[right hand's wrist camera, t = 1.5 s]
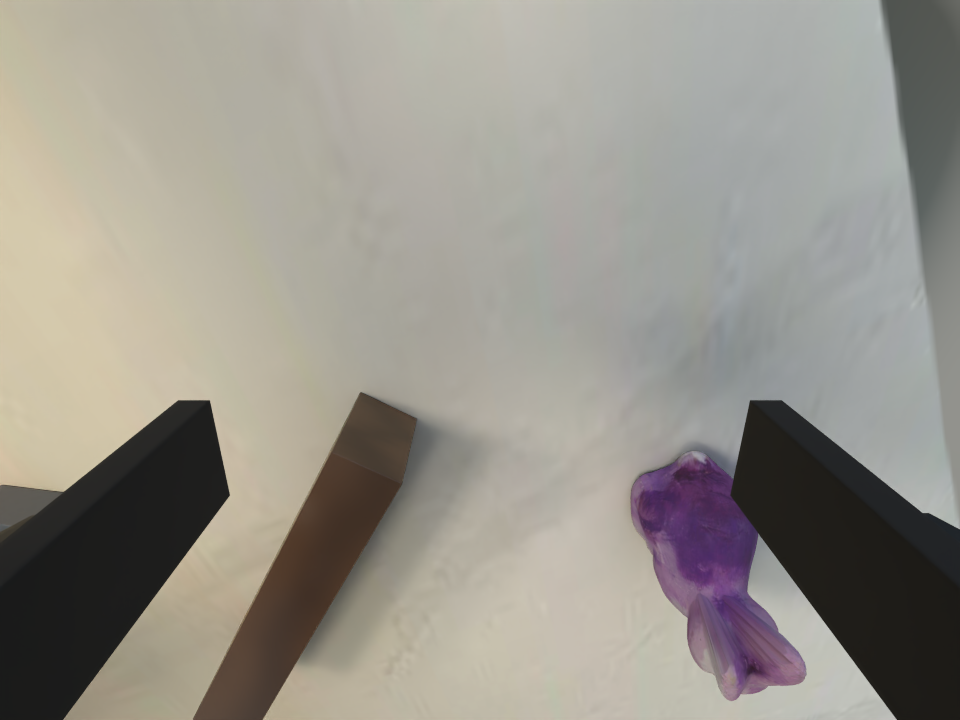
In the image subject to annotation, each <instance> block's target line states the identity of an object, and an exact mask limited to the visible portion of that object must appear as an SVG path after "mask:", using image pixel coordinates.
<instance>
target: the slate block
mask: <svg viewBox="0 0 960 720" xmlns="http://www.w3.org/2000/svg"><path fill="white" fill-rule="evenodd" d="M62 493H63V492H55V491H47V490H39V489H30V488H22V487H14V486H6V485H1V486H0V532H1V531H3V530H5V529H7V528H8V527H10V526H12V525H14V524H16V523H18V522H20V521H22V520H23V519H25V518H27V517H29V516H31V515H36V514H37V513H38V512H40V511H41V510H42V509H43V508H45V507H46V506H47V505H48V504H50V503H51V502H52V501H53V500H55V499H56V498H57V497H58V496H60V495H61V494H62Z"/></svg>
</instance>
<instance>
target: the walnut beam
mask: <svg viewBox="0 0 960 720" xmlns="http://www.w3.org/2000/svg"><path fill="white" fill-rule="evenodd" d="M416 421H417V419H416V418H414V417H412V416H409V415H407V414H405V413H403V412H401V411H399V410H397V409H395V408H393V407H391V406H388V405H386V404H384V403H382V402H380V401H378V400H376V399H374V398H372V397H370V396H367V395H365V394H363V393H360V394H359V396H358V398H357V400H356V402H355V404H354V406H353V408H352V410H351V412H350V414H349V415H348V417H347V419H346V421H345V423H344V425H343V427H342V429H341V431H340V433H339V435H338V437H337V439H336V441H335V443H334V445H333V446H332V448H331V450H330V452H329V454H328V456H327V458H326V460H325V462H324V464H323V466H322V468H321V470H320V472H319V474H318V476H317V477H316V479H315V481H314V483H313V485H312V487H311V489H310V491H309V493H308V495H307V497H306V499H305V501H304V503H303V505H302V507H301V508H300V510H299V512H298V514H297V516H296V518H295V520H294V522H293V524H292V526H291V528H290V530H289V532H288V534H287V536H286V538H285V539H284V541H283V543H282V545H281V547H280V549H279V551H278V553H277V555H276V557H275V559H274V561H273V563H272V565H271V567H270V569H269V571H268V572H267V574H266V576H265V578H264V580H263V582H262V584H261V586H260V588H259V590H258V592H257V594H256V596H255V598H254V600H253V602H252V603H251V605H250V607H249V609H248V611H247V613H246V615H245V617H244V619H243V621H242V623H241V625H240V627H239V629H238V631H237V633H236V635H235V637H234V639H233V641H232V643H231V645H230V647H229V649H228V651H227V653H226V655H225V656H224V658H223V660H222V662H221V664H220V666H219V668H218V670H217V672H216V674H215V676H214V678H213V680H212V682H211V684H210V686H209V688H208V690H207V692H206V694H205V696H204V698H203V700H202V702H201V704H200V706H199V708H198V710H197V712H196V714H195V716H194V718H193V720H263V718H264V716H265V715H266V713H267V711H268V710H269V708H270V706H271V705H272V703H273V701H274V700H275V698H276V696H277V694H278V693H279V691H280V689H281V688H282V686H283V684H284V683H285V681H286V679H287V678H288V676H289V674H290V672H291V671H292V669H293V667H294V666H295V664H296V662H297V661H298V659H299V657H300V656H301V654H302V652H303V651H304V649H305V647H306V645H307V644H308V642H309V640H310V639H311V637H312V635H313V634H314V632H315V630H316V629H317V627H318V625H319V623H320V622H321V620H322V618H323V617H324V615H325V613H326V612H327V610H328V608H329V607H330V605H331V603H332V601H333V600H334V598H335V596H336V595H337V593H338V591H339V590H340V588H341V586H342V585H343V583H344V581H345V580H346V578H347V576H348V574H349V573H350V571H351V569H352V568H353V566H354V564H355V563H356V561H357V559H358V558H359V556H360V554H361V552H362V551H363V549H364V547H365V546H366V544H367V542H368V541H369V539H370V537H371V536H372V534H373V532H374V531H375V529H376V527H377V525H378V524H379V522H380V520H381V519H382V517H383V515H384V514H385V512H386V510H387V509H388V507H389V505H390V503H391V502H392V500H393V498H394V497H395V495H396V493H397V492H398V490H399V488H400V487H401V485H402V482H403V478H404V473H405V469H406V464H407V460H408V456H409V451H410V447H411V443H412V438H413V434H414V429H415V425H416Z"/></svg>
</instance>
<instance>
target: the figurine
mask: <svg viewBox="0 0 960 720" xmlns="http://www.w3.org/2000/svg"><path fill="white" fill-rule="evenodd" d="M732 484H733V479H732V478H731V477H730V476H729V475H728V474H727V473H726V472H724V471H723V470H722V469H721V468H720V467H719V466H718V465H717V464H716V463H715V462H714V461H712V460H711V459H710V458H709V457H708V456H707V455H706V454H704V453H702V452H699V451H689V452H686V453H684V454H682V455H681V456H680V457H679V458H678V459H677V460H676V461H675V462H674V463H673V464H671V465H669V466H667V467H665V468H663V469H659V470H657V471H654V472H650V473H646V474H643V475H642V476H640V477H639V478H638V479H637V480H636V482H635V483H634V485H633V487H632V490H631V515H632V520H633V524H634V527H635V528H636V530H637V532H638V533H639V534H640V535H641V536H642V537H643V538H644V540H645V541H646V543H647V547H648V549H649V550H650V552H651V554H652V555H653V565H654V570H655V573H656V576H657V578H658V581H659V583H660V585H661V588H662V590H663V592H664V594H665V596H666V597H667V598H668V599H669V601H670V602H671V603H672V604H673V605H674V606H675V607H676V608H677V609H678V610H679V611H680V612H681V613H682V614H683V615H685V616H686V617H687V618H688V624H687V639H688V645H689V649H690V652H691V655H692V657H693V659H694V660H695V662H696V663H697V664H698V666H699V667H700V668H701V669H702V670H704V671H705V672H708V673H712V674H713V675H715V676H716V680H717V684H718V687H719V689H720V691H721V693H722V695H723V696H724V697H725V698H726V699H728V700H730V701H734V700H736V699H737V698H738V697H739V696H740V694H753V693H757V692H760V691H762V690H764V689H766V688H767V687H768V686H777V685H780V686H786V685H796V684H799V683H801V682H802V681H803V680H804V679H805V676H806V666H805V662H804V661H803V659H802V657H801V656H800V654H799V652H798V651H797V650H796V649H795V648H794V647H793V646H792V645H791V644H790V643H789V642H788V641H787V639H786V638H785V637H784V636H783V635H781V634H780V633H779V632H778V628H777V626H776V624H775V621H774V620H773V619H772V617H771V616H770V615H769V614H768V613H767V611H766V610H765V609H763V608H762V607H761V606H760V605H759V604H758V603H756V602H755V601H754V600H753V599H752V598H751V597H750V596H749V594H748V592H747V586H748V579H749V573H750V568H751V564H752V560H753V557H754V553H755V549H756V544H757V538H758V532H757V531H756V529H755V528H754V527H753V525H752V524H751V523H750V521H749V520H748V519H747V517H746V516H745V515H744V513H743V512H742V511H741V509H740V508H739V507H738V505H737V504H736V503H735V501H734V500H733V499H732V497H731V496H730V494H731V489H732Z"/></svg>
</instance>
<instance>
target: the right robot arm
mask: <svg viewBox="0 0 960 720" xmlns="http://www.w3.org/2000/svg"><path fill="white" fill-rule="evenodd" d="M229 496H230V494H229V489H228V484H227V479H226V475H225V470H224V465H223V461H222V456H221V451H220V446H219V442H218V437H217V432H216V427H215V423H214V418H213V413H212V409H211V404H210V400H178V401H177V402H176V403H174V404H173V405H172V406H171V407H169V408H168V409H167V410H166V411H164V412H163V413H162V414H161V415H159V416H158V417H157V418H156V419H154V420H153V421H152V422H151V423H149V424H148V425H147V426H146V427H144V428H143V429H142V430H141V431H139V432H138V433H137V434H136V435H134V436H133V437H132V438H131V439H129V440H128V441H127V442H126V443H124V444H123V445H122V446H121V447H119V448H118V449H117V450H116V451H114V452H113V453H112V454H111V455H109V456H108V457H107V458H106V459H104V460H103V461H102V462H101V463H99V464H98V465H97V466H96V467H94V468H93V469H92V470H91V471H89V472H88V473H87V474H86V475H84V476H83V477H82V478H81V479H79V480H78V481H77V482H76V483H74V484H73V485H72V486H71V487H70V488H68V489H67V490H66V491H65V492H63V493H62V494H61V495H60V496H58V497H57V498H56V499H55V500H53V501H52V502H51V503H50V504H48V505H47V506H46V507H45V508H43V509H42V510H41V511H40V512H38V513H37V514H36V515H31V516H29V517H27V518H25V519H23V520H22V521H20V522H18V523H16V524H14V525H12V526H10V527H8V528H7V529H5V530H3V531H1V532H0V720H63V719H64V718H65V716H66V715H67V714H68V712H69V711H70V710H71V708H72V707H73V706H74V704H75V703H76V702H77V700H78V699H79V698H80V696H81V695H82V693H83V692H84V691H85V689H86V688H87V687H88V685H89V684H90V683H91V681H92V680H93V679H94V677H95V676H96V675H97V673H98V672H99V671H100V669H101V668H102V667H103V665H104V664H105V663H106V661H107V660H108V659H109V657H110V656H111V654H112V653H113V652H114V650H115V649H116V648H117V646H118V645H119V644H120V642H121V641H122V640H123V638H124V637H125V636H126V634H127V633H128V632H129V630H130V629H131V628H132V626H133V625H134V624H135V622H136V621H137V620H138V618H139V617H140V616H141V614H142V613H143V611H144V610H145V609H146V607H147V606H148V605H149V603H150V602H151V601H152V599H153V598H154V597H155V595H156V594H157V593H158V591H159V590H160V589H161V587H162V586H163V585H164V583H165V582H166V581H167V579H168V578H169V577H170V575H171V574H172V572H173V571H174V570H175V568H176V567H177V566H178V564H179V563H180V562H181V560H182V559H183V558H184V556H185V555H186V554H187V552H188V551H189V550H190V548H191V547H192V546H193V544H194V543H195V542H196V540H197V539H198V538H199V536H200V535H201V533H202V532H203V531H204V529H205V528H206V527H207V525H208V524H209V523H210V521H211V520H212V519H213V517H214V516H215V515H216V513H217V512H218V511H219V509H220V508H221V507H222V505H223V504H224V503H225V501H226V500H227V499H228V497H229ZM730 496H731V497H732V499H733V500H734V501H735V503H736V504H737V505H738V507H739V508H740V509H741V511H742V512H743V513H744V515H745V516H746V517H747V519H748V520H749V521H750V523H751V524H752V525H753V527H754V528H755V529H756V531H757V532H758V533H759V535H760V536H761V538H762V539H763V540H764V542H765V543H766V544H767V546H768V547H769V548H770V550H771V551H772V552H773V554H774V555H775V556H776V558H777V559H778V560H779V562H780V563H781V564H782V566H783V567H784V568H785V570H786V571H787V572H788V574H789V575H790V577H791V578H792V579H793V581H794V582H795V583H796V585H797V586H798V587H799V589H800V590H801V591H802V593H803V594H804V595H805V597H806V598H807V599H808V601H809V602H810V603H811V605H812V606H813V607H814V609H815V610H816V611H817V613H818V614H819V616H820V617H821V618H822V620H823V621H824V622H825V624H826V625H827V626H828V628H829V629H830V630H831V632H832V633H833V634H834V636H835V637H836V638H837V640H838V641H839V642H840V644H841V645H842V646H843V648H844V649H845V650H846V652H847V653H848V655H849V656H850V657H851V659H852V660H853V661H854V663H855V664H856V665H857V667H858V668H859V669H860V671H861V672H862V673H863V675H864V676H865V677H866V679H867V680H868V681H869V683H870V684H871V685H872V687H873V688H874V689H875V691H876V692H877V693H878V695H879V696H880V698H881V699H882V700H883V702H884V703H885V704H886V706H887V707H888V708H889V710H890V711H891V712H892V714H893V715H894V716H895V718H896V719H897V720H960V529H958V528H956V527H954V526H952V525H950V524H948V523H946V522H944V521H943V520H941V519H939V518H937V517H935V516H933V515H931V514H929V513H922V512H920V511H919V510H918V509H917V508H915V507H914V506H913V505H912V504H910V503H909V502H908V501H907V500H905V499H904V498H903V497H902V496H900V495H899V494H898V493H897V492H895V491H894V490H893V489H892V488H890V487H889V486H888V485H887V484H886V483H884V482H883V481H882V480H881V479H879V478H878V477H877V476H876V475H874V474H873V473H872V472H871V471H869V470H868V469H867V468H866V467H864V466H863V465H862V464H861V463H859V462H858V461H857V460H856V459H854V458H853V457H852V456H851V455H849V454H848V453H847V452H846V451H844V450H843V449H842V448H841V447H839V446H838V445H837V444H836V443H834V442H833V441H832V440H831V439H829V438H828V437H827V436H826V435H824V434H823V433H822V432H821V431H819V430H818V429H817V428H816V427H814V426H813V425H812V424H811V423H809V422H808V421H807V420H806V419H804V418H803V417H802V416H801V415H799V414H798V413H797V412H796V411H794V410H793V409H792V408H791V407H789V406H788V405H787V404H786V403H784V402H783V401H782V400H750V404H749V409H748V413H747V418H746V423H745V427H744V432H743V437H742V442H741V446H740V451H739V456H738V461H737V465H736V470H735V475H734V479H733V484H732V489H731V494H730Z"/></svg>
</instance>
